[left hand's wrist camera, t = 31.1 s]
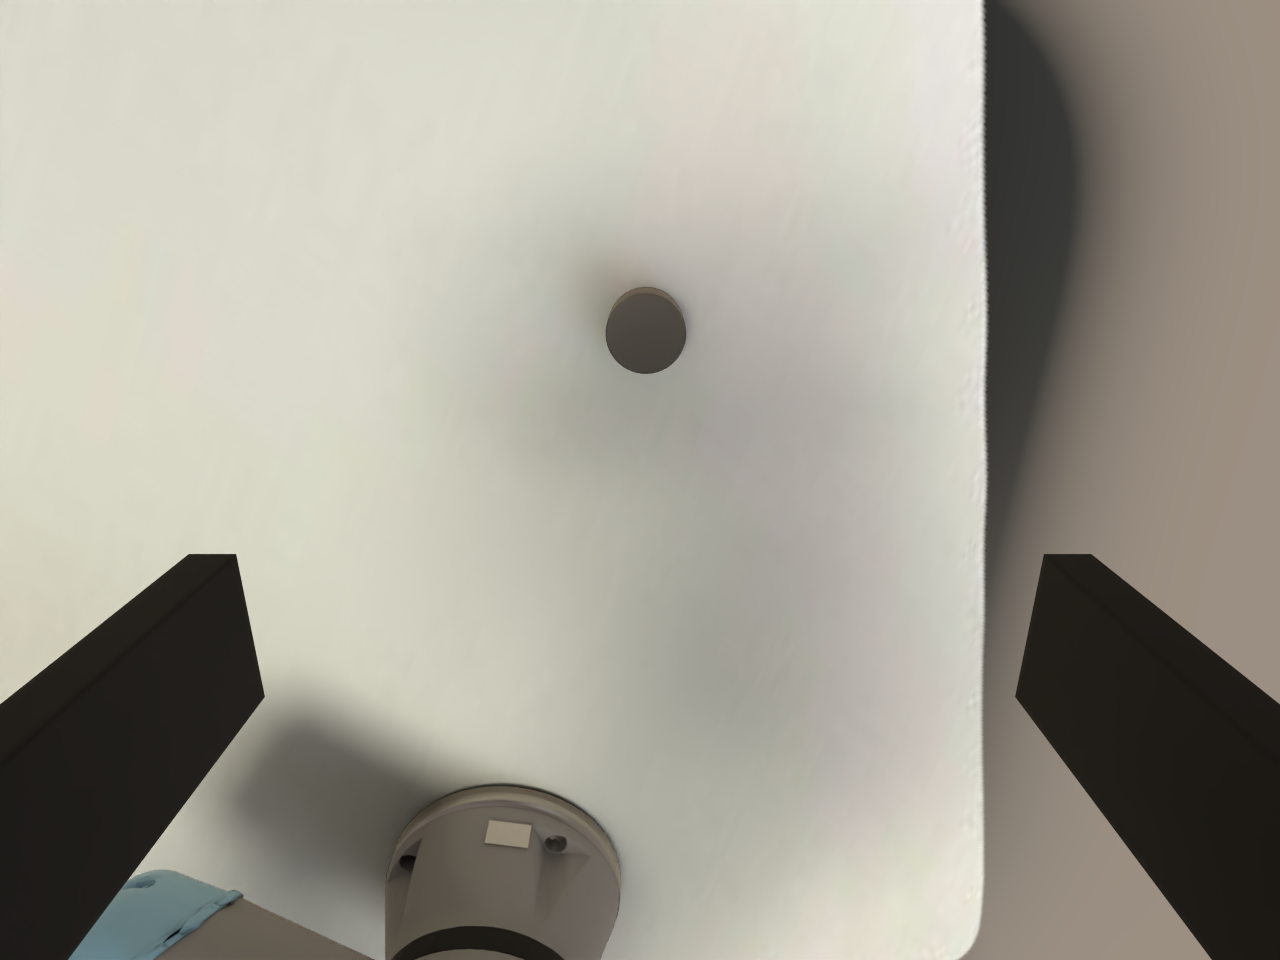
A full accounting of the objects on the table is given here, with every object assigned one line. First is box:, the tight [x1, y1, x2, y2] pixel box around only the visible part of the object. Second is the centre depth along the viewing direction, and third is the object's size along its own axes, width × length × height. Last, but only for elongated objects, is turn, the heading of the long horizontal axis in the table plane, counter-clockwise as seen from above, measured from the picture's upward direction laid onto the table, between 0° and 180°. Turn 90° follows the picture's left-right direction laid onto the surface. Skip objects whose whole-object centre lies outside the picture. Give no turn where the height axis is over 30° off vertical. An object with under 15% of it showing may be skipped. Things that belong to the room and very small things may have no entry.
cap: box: [606, 287, 686, 374], centre depth 38 cm, size 4×4×2 cm
